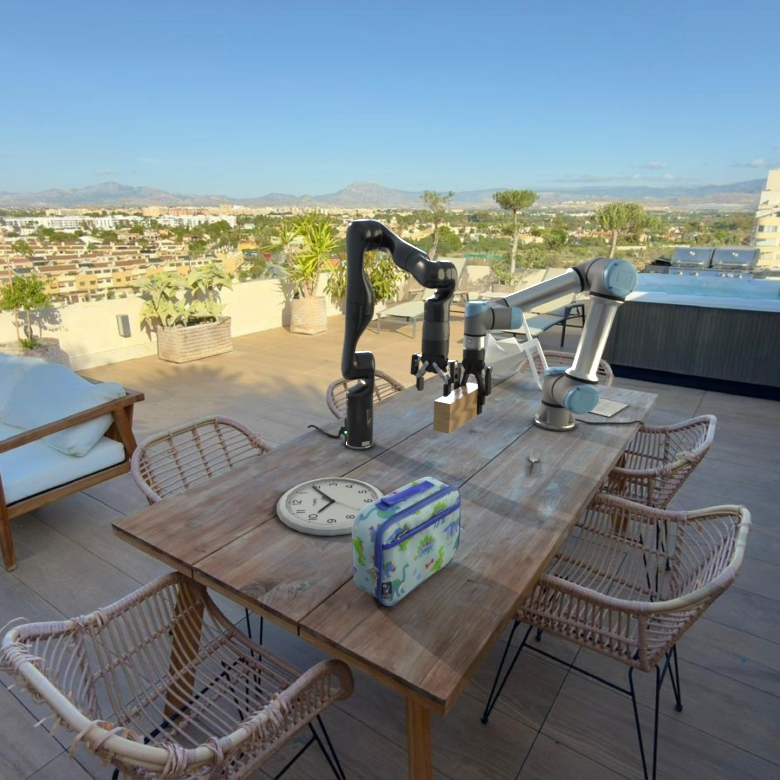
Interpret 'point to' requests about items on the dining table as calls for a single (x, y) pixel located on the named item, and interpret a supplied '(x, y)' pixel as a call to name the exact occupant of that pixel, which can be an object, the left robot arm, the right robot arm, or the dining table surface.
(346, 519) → the wall clock
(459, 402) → the box
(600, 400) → the invitation card
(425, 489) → the lunch box
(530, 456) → the fork
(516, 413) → the dining table surface
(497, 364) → the white plastic object
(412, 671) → the dining table surface
